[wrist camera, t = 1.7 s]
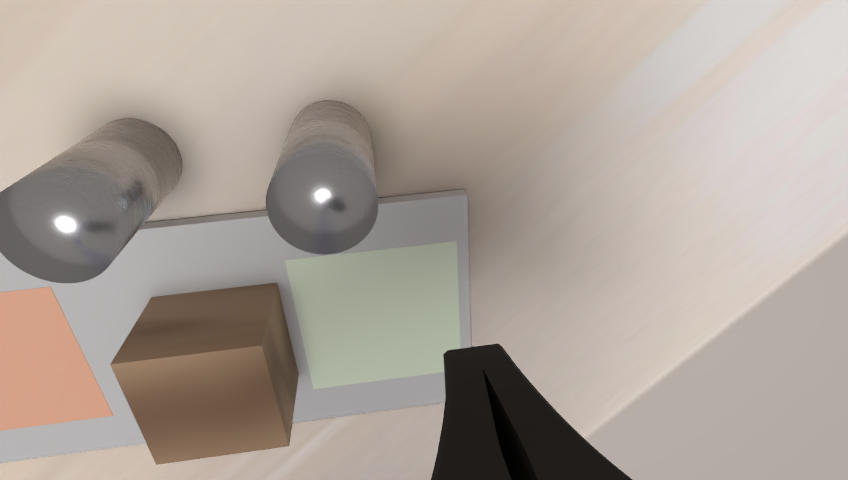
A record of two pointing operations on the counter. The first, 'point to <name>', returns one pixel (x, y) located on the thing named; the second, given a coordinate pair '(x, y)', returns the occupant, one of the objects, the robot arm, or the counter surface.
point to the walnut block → (210, 373)
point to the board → (236, 267)
